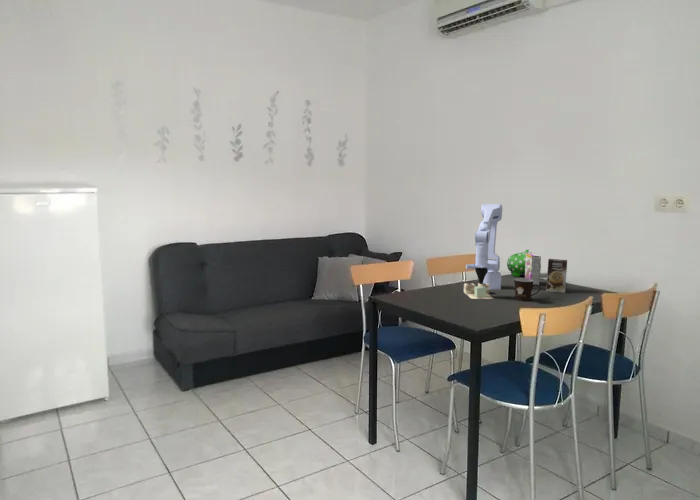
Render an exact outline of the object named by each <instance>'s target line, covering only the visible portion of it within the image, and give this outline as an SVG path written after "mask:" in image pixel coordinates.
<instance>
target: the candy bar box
mask: <svg viewBox="0 0 700 500" xmlns="http://www.w3.org/2000/svg"><path fill="white" fill-rule="evenodd" d="M541 262H542V256H541V255H539V254H537V253H535V252H532V253H530V252H529V253H526V261H525V276H524V278H527V279H532V280H534V281H533V285H534V284H537V285H539V286H540V285H541V284H540V283H541V281H540V280H541V270H540V266H542V265H541V264H542V263H541ZM534 287H537V286H536V285H535V286H534ZM540 287H541V286H540Z"/></svg>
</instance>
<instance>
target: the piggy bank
mask: <svg viewBox="0 0 700 500" xmlns="http://www.w3.org/2000/svg"><path fill="white" fill-rule="evenodd" d="M529 250H530V249H526V250H525V251H524V252H523V251H522V252H517V253H513V254H511V255H510V256H508V259H507V261H506V266H507V267H506V268H507V269H508V270H509V272H510V273H511V275H512V276H513V278H515V277H516V278H519V277H520V276H521V275H523V276H524V277H525V261H526V253H533V252H529ZM541 266H542V265H541ZM541 266H540V271H541Z"/></svg>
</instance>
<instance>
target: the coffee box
mask: <svg viewBox="0 0 700 500" xmlns="http://www.w3.org/2000/svg"><path fill="white" fill-rule="evenodd" d="M547 260H548V261H547V276H546V287H545V288H546V289H545V290H546V291H545V292H554V293H563V294H564V293H566V285H567V271H568V259H559V258H557V259H556V258H548V259H547Z"/></svg>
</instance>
